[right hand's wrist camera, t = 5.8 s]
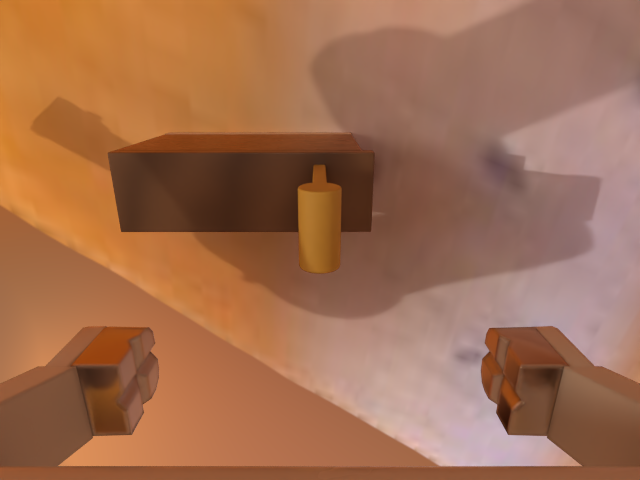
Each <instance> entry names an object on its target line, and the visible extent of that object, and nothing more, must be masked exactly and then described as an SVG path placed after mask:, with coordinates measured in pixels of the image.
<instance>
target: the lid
mask: <svg viewBox="0 0 640 480" xmlns="http://www.w3.org/2000/svg"><path fill="white" fill-rule="evenodd" d="M108 158H109V164H110V169H111V175H112V181H113V187H114V193H115V198H116V204H117V210H118V216H119V222H120V227H121V232H299V266H300V268H301V269H302V270H304V271H307V272H310V273H329V272H333V271H335V270H337V269H338V268H339V267H340V249H341V232H371V220H372V197H373V175H374V152H373V151H372V150H115V151H112V152H109V153H108Z"/></svg>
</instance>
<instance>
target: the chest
mask: <svg viewBox="0 0 640 480" xmlns="http://www.w3.org/2000/svg"><path fill="white" fill-rule="evenodd" d="M118 150H361V148H360V147H359V145H358V144H357V142H356V141H355V139H354V138H353V136H352V134H351V133H167V134H165V135H162V136H159V137H156V138H152V139H149V140H146V141H143V142H140V143H137V144H134V145H131V146H128V147H124V148H121V149H118Z"/></svg>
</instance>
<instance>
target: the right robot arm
mask: <svg viewBox="0 0 640 480" xmlns="http://www.w3.org/2000/svg"><path fill="white" fill-rule="evenodd" d="M154 344H155V340H154V335H153V331H152V330H151V329H150V328H149V327H106V326H97V327H85V328H82V330H81V331H80V332H79V333H78V334H77V335H76V336H75V337H74V338H73V339H72V340H71V341H70V342H69V343H68V344H67V345H66V346H65V347H64V348H63V349H62V350H61V351H60V352H59V353H58V354H57V355H56V356H55V357H54V358H53V359H52V360H51V361H50V362H49V363H48V364H47V365H46V366H44V367H36V368H34V369H31V370H29V371H27V372H25V373H23V374H20V375H18V376H16V377H14V378H12V379H9V380H7V381H5V382H3V383H1V384H0V480H640V384H639V383H637V382H635V381H633V380H631V379H628V378H626V377H624V376H622V375H620V374H617V373H615V372H613V371H611V370H609V369H606V368H604V367H597V366H594V365H593V364H592V363H591V362H590V361H589V360H588V359H587V358H586V357H585V356H584V355H583V354H582V353H581V352H580V351H579V350H578V349H577V348H576V347H575V346H574V345H573V344H572V343H571V342H570V341H569V340H568V339H567V337H566V336H565V335H564V334H563V333H562V332H561V331H560V330H559V329H558V328H555V327H553V326H543V327H512V328H489V330H488V332H487V334H486V339H485V344H486V346H487V347H488V349H489V353H488V354H487V355H486V356H485V357H484V358H483V359H482V366H481V377H482V384H483V387H484V390H485V393H486V394H487V396H488V398H489V399H490V400H491V401H493V402H494V403H496V404H497V410H496V413H497V415H498V417H499V419H500V421H501V422H502V424H503V426H504V428H505V430H506V432H507V433H508V435H532V436H547V438H548V439H549V440H551V441H552V442H553V443H554V444H556V445H557V446H558V447H559V448H561V449H562V450H563V451H564V452H566V453H567V454H568V455H569V456H571V457H572V458H573V459H574V460H576V461H577V462H578V463H580V464H581V465H582V466H58V465H59V464H61V463H62V462H63V461H64V460H66V459H67V458H68V457H69V456H71V455H72V454H73V453H74V452H76V451H77V450H78V449H79V448H81V447H82V446H83V445H85V444H86V443H87V442H88V441H90V440H91V439H92V438H93V436H107V435H132V433H133V432H134V430H135V428H136V426H137V424H138V422H139V420H140V419H141V417H142V415H143V413H144V410H143V404H144V403H146V402H147V401H149V400H150V399H151V398H152V396H153V394H154V392H155V390H156V387H157V383H158V379H159V365H158V359H157V358H156V357H155V356H154V355H153V354H152V353H151V349H152V347H153V346H154Z"/></svg>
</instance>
